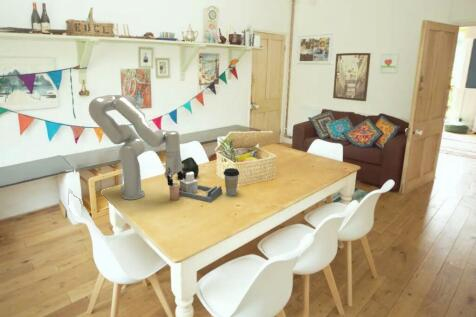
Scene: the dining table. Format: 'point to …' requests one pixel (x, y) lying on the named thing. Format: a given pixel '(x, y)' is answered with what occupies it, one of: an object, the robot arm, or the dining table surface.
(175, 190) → the jar
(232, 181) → the coffee cup
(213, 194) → the tray
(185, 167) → the squash
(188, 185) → the container
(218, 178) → the dining table surface
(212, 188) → the pusher
